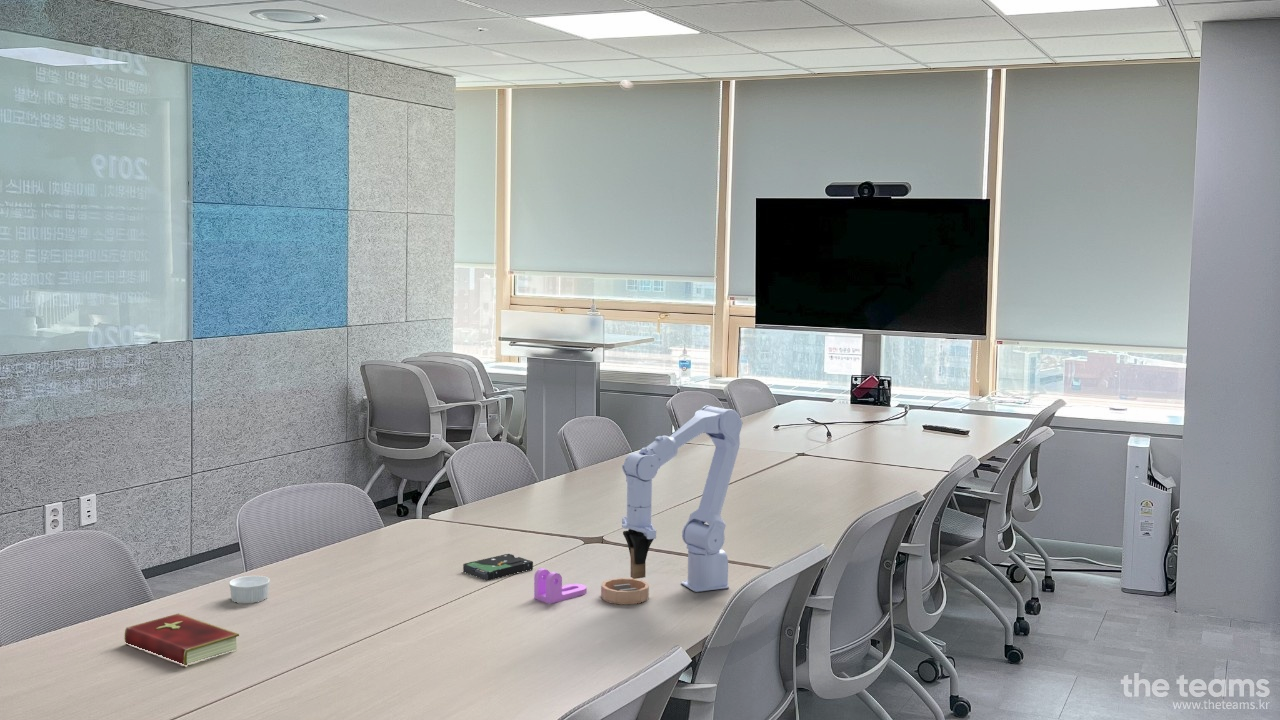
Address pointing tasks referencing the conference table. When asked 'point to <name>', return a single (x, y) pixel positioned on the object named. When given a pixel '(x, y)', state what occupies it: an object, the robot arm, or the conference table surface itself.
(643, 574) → the long tan beam
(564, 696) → the conference table surface
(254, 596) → the ramekin
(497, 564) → the disk drive
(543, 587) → the bracket
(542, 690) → the conference table surface
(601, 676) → the conference table surface
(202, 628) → the hardcover book
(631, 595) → the round tan tray
